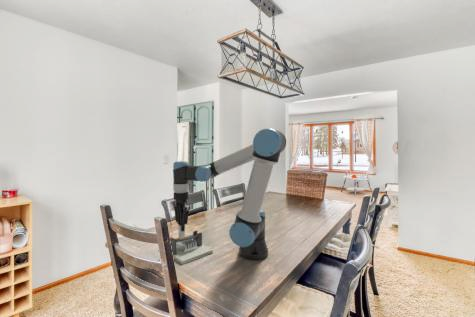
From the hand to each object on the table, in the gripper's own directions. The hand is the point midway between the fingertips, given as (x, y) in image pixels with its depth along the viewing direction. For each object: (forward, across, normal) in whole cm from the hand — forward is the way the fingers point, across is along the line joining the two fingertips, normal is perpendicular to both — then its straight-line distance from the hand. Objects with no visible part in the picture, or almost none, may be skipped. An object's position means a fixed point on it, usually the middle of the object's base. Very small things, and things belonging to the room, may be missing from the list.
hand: (181, 236), depth 123 cm
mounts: (+7, 0, -3) cm, 8 cm away
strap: (+3, 0, -4) cm, 4 cm away
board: (+9, 0, -3) cm, 9 cm away
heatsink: (+7, 0, -3) cm, 8 cm away
